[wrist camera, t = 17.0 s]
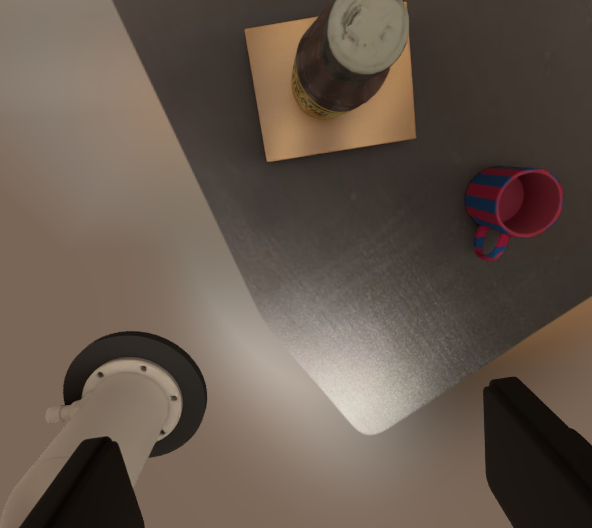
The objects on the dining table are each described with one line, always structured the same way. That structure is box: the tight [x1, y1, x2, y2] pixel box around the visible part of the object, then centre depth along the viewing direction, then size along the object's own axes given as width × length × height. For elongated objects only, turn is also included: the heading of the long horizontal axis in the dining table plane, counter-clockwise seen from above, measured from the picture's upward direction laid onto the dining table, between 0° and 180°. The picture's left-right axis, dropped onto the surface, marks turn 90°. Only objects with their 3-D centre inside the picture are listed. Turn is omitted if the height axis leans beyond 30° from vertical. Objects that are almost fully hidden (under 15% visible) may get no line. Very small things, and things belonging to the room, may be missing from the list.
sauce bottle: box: [291, 0, 409, 119], centre depth 28 cm, size 6×6×20 cm
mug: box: [465, 167, 564, 261], centre depth 42 cm, size 7×10×7 cm
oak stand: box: [245, 2, 416, 162], centre depth 39 cm, size 15×12×4 cm
